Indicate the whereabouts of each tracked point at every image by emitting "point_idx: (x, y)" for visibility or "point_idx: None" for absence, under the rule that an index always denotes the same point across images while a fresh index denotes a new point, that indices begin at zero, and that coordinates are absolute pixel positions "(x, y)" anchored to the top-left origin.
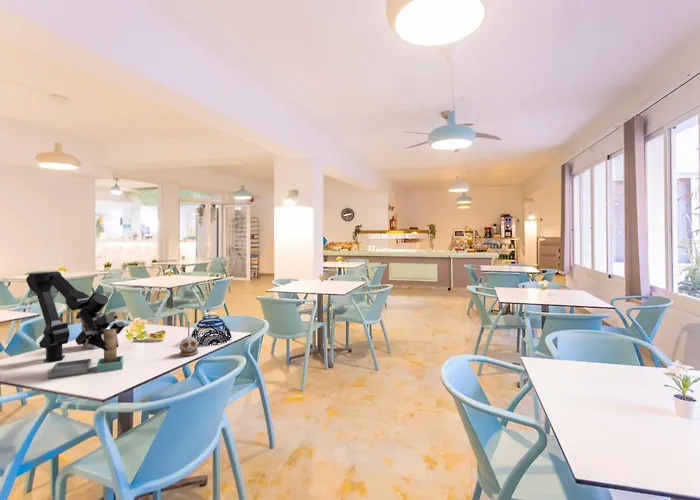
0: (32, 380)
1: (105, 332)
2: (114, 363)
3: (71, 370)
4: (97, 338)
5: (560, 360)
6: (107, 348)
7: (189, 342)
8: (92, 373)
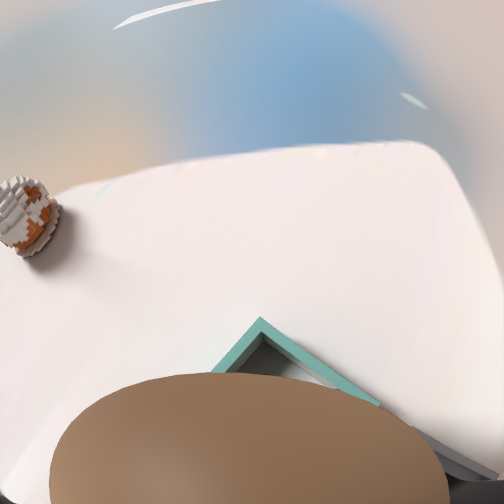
0: None
1: (434, 494)
2: (296, 346)
3: (453, 458)
4: (468, 484)
5: (118, 25)
6: (340, 390)
7: (25, 180)
8: (383, 407)
